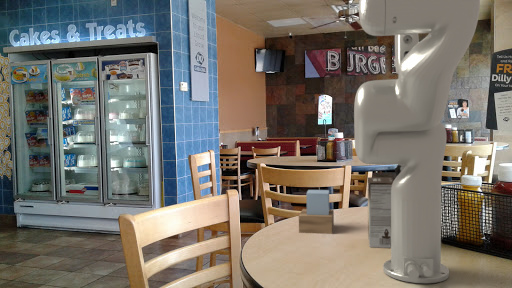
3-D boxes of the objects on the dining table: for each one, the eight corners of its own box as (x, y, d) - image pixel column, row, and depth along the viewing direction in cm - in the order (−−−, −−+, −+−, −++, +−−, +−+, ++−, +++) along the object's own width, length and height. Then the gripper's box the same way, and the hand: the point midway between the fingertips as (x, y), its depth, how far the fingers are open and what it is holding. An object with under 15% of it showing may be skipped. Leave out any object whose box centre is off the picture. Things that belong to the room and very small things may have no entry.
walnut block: (331, 234, 123) (331, 216, 123) (298, 233, 125) (298, 215, 125) (333, 226, 132) (333, 209, 131) (303, 225, 134) (302, 209, 133)
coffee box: (367, 237, 119) (367, 176, 118) (392, 238, 117) (392, 176, 116) (368, 247, 110) (368, 182, 109) (396, 248, 108) (396, 182, 107)
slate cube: (328, 215, 124) (328, 193, 124) (306, 214, 126) (306, 193, 125) (329, 210, 130) (329, 190, 130) (308, 210, 131) (308, 189, 131)
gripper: (427, 18, 100) (426, 95, 101) (418, 31, 117) (417, 97, 118) (391, 20, 102) (391, 96, 103) (387, 33, 119) (388, 98, 120)
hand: (405, 97), depth 111 cm, fingers open, 9 cm apart
